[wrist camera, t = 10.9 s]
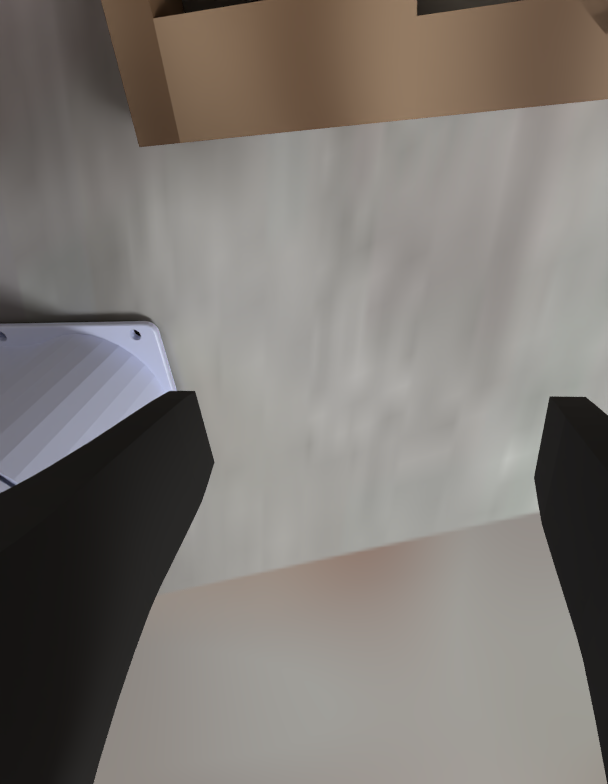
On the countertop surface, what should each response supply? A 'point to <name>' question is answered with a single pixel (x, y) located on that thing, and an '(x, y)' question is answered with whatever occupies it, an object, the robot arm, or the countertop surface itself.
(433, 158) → the countertop surface
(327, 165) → the countertop surface
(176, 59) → the keyhole board
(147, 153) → the countertop surface
